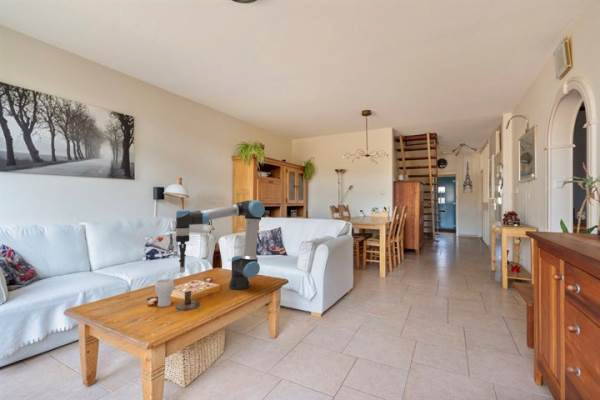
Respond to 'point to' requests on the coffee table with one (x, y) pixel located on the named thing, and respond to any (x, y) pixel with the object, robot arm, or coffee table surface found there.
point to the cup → (164, 291)
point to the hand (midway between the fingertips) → (182, 269)
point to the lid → (187, 303)
